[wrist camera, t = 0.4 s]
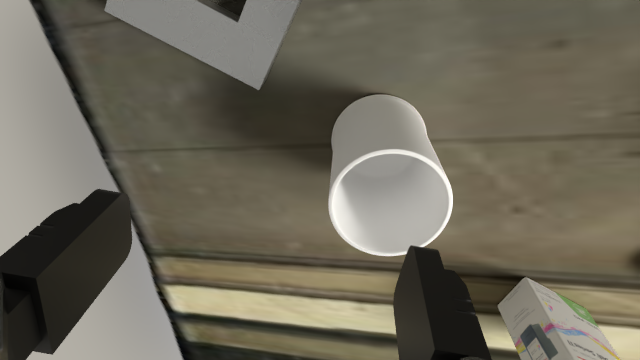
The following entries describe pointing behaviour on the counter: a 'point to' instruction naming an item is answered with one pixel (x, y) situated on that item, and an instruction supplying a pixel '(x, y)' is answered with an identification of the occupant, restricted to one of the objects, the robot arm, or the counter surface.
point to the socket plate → (216, 31)
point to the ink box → (551, 326)
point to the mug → (386, 178)
